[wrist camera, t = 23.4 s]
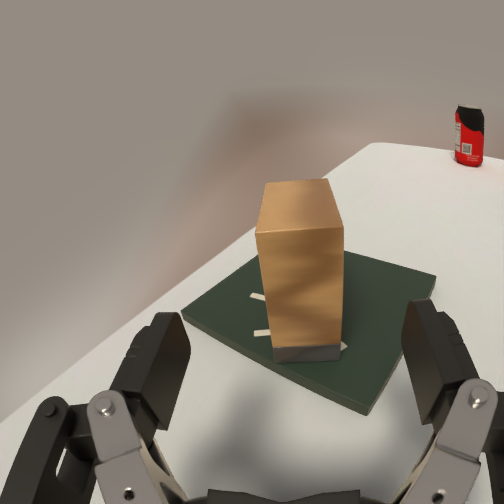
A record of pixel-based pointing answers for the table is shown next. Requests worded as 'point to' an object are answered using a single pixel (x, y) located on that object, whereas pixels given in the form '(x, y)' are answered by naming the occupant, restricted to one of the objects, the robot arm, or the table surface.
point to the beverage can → (469, 135)
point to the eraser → (302, 269)
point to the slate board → (352, 336)
